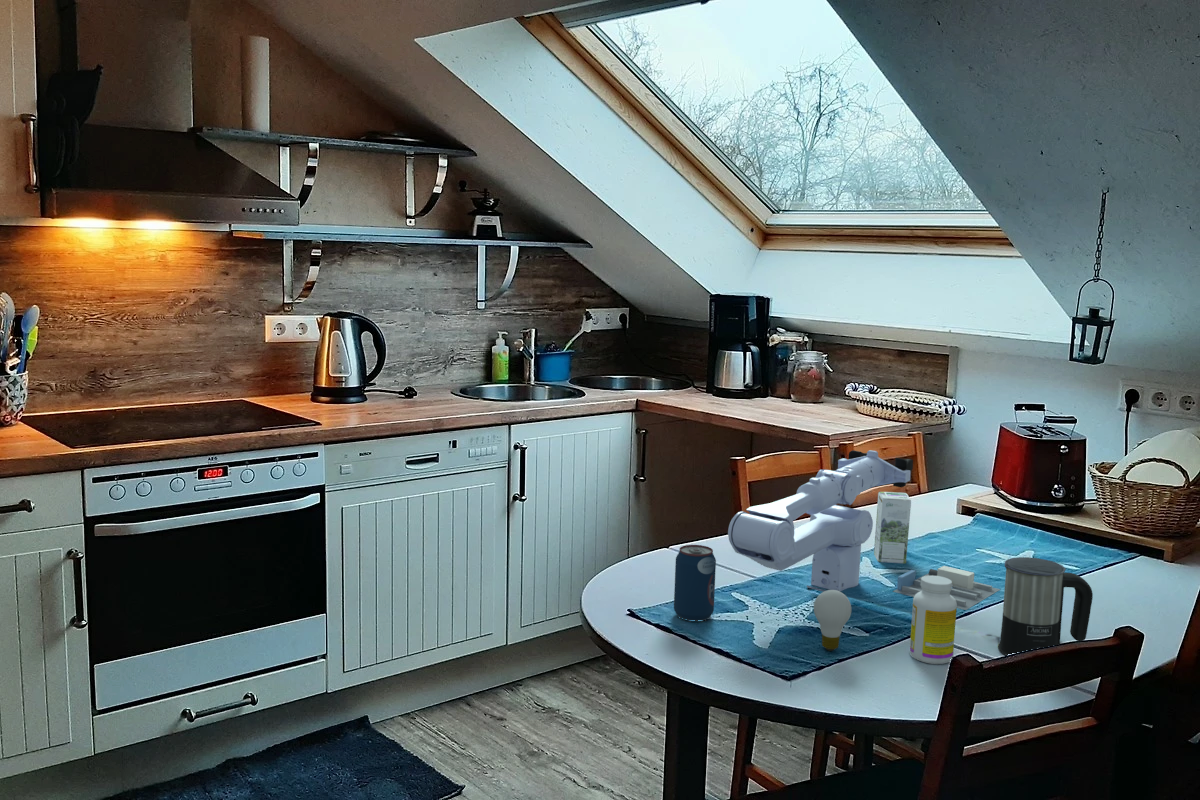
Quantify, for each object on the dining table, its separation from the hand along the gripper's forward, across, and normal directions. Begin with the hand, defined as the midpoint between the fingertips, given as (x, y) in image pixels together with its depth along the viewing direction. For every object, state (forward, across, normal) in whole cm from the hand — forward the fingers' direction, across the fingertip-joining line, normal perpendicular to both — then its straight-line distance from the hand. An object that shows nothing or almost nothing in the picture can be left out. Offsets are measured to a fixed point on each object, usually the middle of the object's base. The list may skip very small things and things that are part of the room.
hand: (893, 461), depth 217 cm
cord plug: (-7, -17, +20) cm, 27 cm away
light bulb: (-50, -15, +18) cm, 56 cm away
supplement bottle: (-41, -28, +19) cm, 54 cm away
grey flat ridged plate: (-10, -17, +21) cm, 29 cm away
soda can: (-54, +10, +18) cm, 57 cm away
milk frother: (-24, -37, +20) cm, 49 cm away
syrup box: (0, 0, +22) cm, 22 cm away
